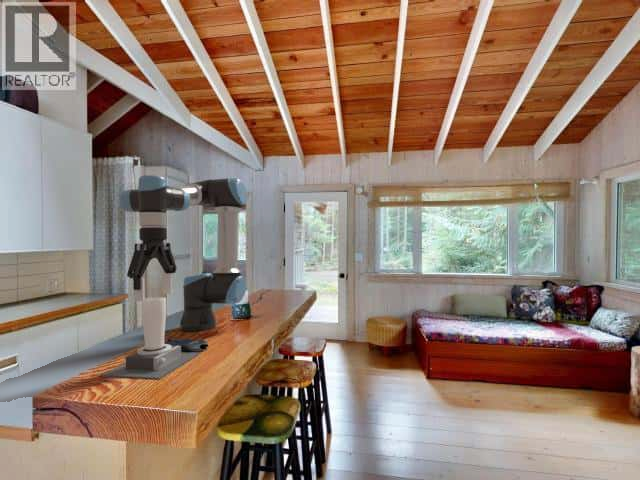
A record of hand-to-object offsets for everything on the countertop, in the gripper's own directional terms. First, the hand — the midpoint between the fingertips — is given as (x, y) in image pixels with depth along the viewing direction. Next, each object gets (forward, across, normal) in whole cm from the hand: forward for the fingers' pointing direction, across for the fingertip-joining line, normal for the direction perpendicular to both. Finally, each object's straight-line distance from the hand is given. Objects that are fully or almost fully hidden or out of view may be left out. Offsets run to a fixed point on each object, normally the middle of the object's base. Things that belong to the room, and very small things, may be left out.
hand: (154, 297), depth 107 cm
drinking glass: (+16, 0, 0) cm, 16 cm away
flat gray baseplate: (+20, +1, 0) cm, 20 cm away
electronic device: (+21, -15, +1) cm, 26 cm away
